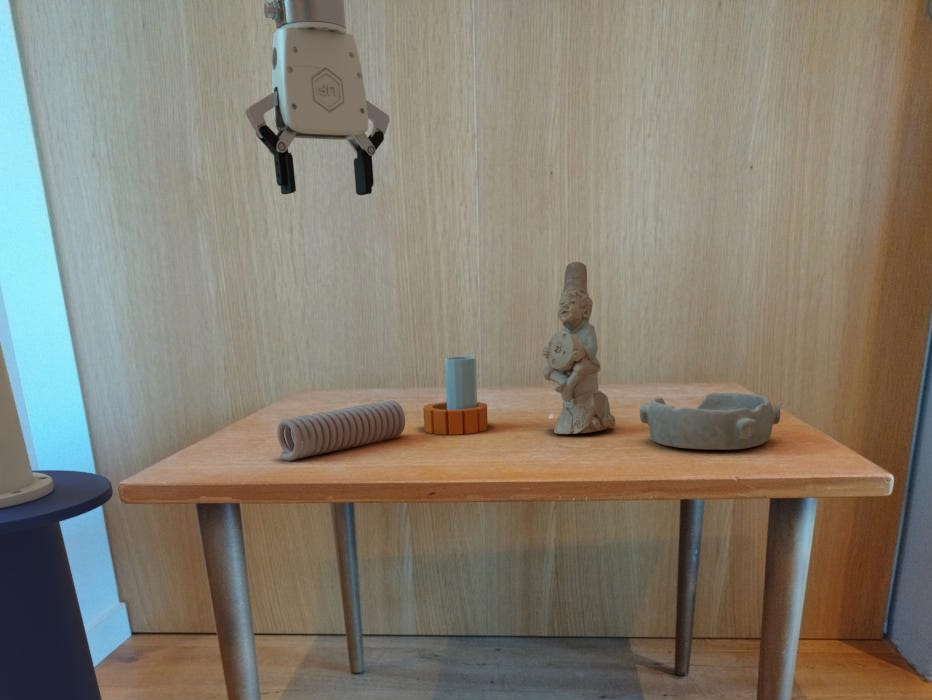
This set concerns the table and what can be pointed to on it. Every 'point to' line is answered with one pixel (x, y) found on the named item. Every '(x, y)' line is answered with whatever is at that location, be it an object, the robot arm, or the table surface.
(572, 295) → the figurine
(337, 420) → the coil
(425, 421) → the ring
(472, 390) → the tumbler
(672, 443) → the dish
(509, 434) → the table surface
